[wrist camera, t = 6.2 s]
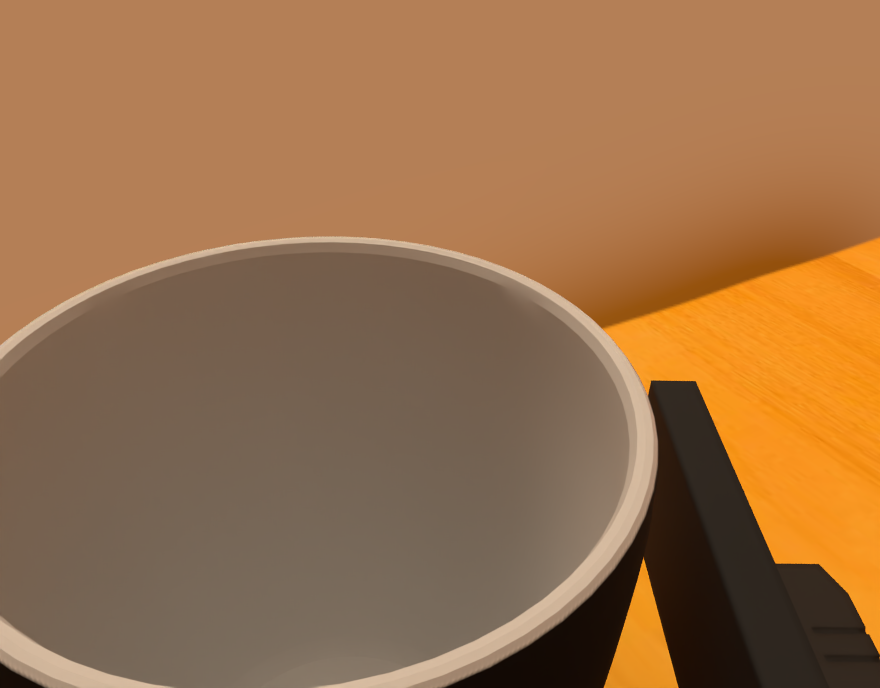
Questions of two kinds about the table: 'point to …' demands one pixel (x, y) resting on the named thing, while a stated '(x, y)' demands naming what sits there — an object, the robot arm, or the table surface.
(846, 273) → the table surface
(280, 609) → the mug
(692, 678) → the robot arm
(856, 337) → the table surface
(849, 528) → the table surface
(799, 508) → the table surface
